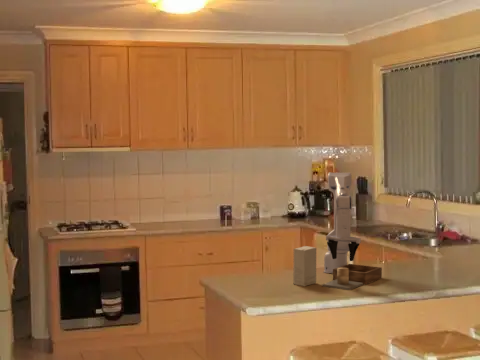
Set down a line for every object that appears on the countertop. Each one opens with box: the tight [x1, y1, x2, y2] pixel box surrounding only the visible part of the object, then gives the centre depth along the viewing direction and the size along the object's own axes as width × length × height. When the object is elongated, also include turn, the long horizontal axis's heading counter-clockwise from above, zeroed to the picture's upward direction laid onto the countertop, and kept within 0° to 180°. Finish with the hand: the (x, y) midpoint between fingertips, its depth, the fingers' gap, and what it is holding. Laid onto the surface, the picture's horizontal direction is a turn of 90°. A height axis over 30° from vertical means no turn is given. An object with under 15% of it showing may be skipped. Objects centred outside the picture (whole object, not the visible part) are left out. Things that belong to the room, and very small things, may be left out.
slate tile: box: [322, 279, 364, 291], centre depth 293 cm, size 12×12×1 cm
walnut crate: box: [332, 263, 383, 285], centre depth 306 cm, size 15×15×4 cm
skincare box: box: [292, 245, 317, 287], centre depth 296 cm, size 8×6×15 cm
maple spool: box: [337, 268, 349, 285], centre depth 293 cm, size 4×4×6 cm
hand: (343, 259), depth 293 cm, fingers open, 7 cm apart
